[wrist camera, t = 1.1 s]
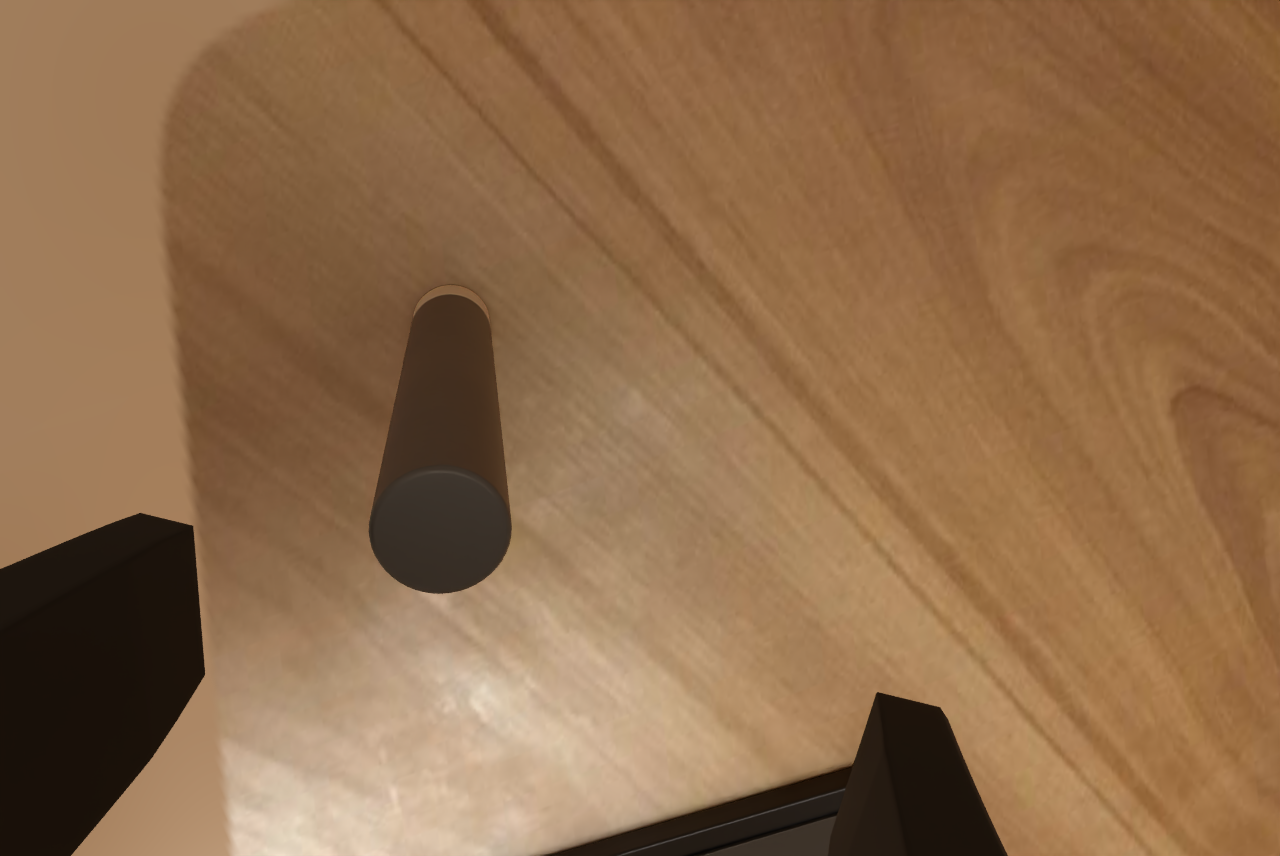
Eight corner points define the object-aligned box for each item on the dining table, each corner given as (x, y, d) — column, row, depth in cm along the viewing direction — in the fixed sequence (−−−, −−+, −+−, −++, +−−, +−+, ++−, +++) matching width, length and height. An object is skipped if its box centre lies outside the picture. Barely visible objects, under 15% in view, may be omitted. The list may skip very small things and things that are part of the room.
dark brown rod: (425, 366, 22) (391, 611, 12) (403, 294, 22) (349, 487, 12) (497, 348, 23) (527, 575, 12) (478, 276, 22) (490, 450, 12)
